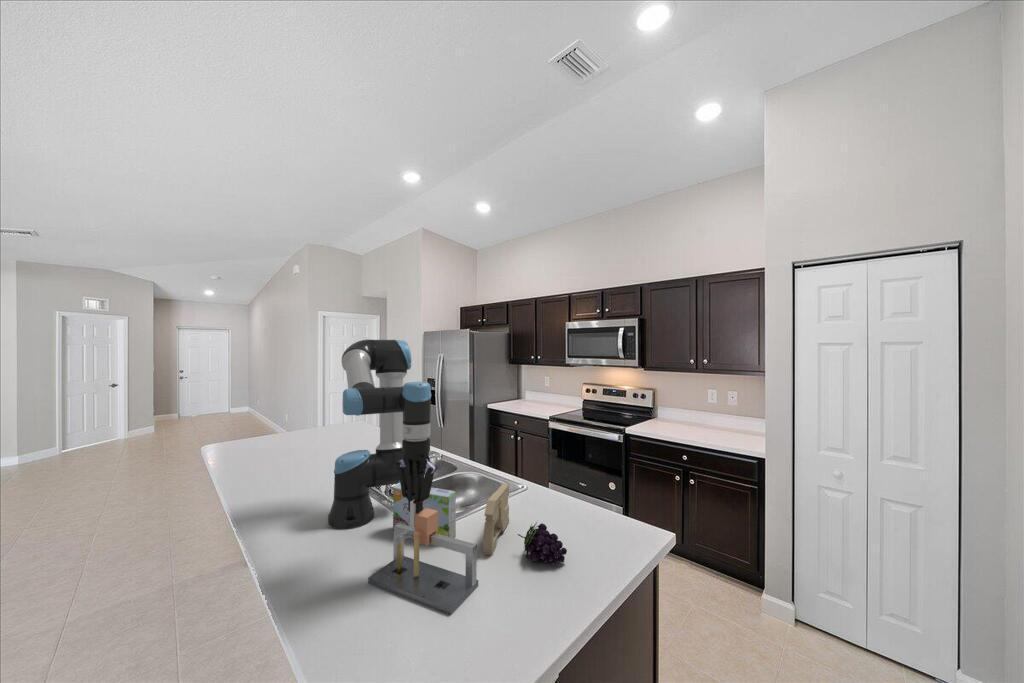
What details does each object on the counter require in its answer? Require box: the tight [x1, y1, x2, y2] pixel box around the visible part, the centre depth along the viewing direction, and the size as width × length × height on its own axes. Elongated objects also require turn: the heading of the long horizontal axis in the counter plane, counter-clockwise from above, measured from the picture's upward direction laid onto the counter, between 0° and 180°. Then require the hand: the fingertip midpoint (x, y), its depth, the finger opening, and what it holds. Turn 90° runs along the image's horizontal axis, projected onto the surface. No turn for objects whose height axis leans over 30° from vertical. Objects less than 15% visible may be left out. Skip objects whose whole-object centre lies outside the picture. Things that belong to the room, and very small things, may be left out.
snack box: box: [392, 483, 457, 538], centre depth 124 cm, size 21×6×15 cm, turn 70°
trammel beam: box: [392, 523, 478, 586], centre depth 99 cm, size 26×6×11 cm, turn 64°
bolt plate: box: [367, 555, 479, 616], centre depth 97 cm, size 26×12×2 cm, turn 64°
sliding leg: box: [413, 508, 438, 577], centre depth 101 cm, size 4×7×15 cm, turn 154°
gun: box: [482, 483, 510, 556], centre depth 123 cm, size 24×3×15 cm, turn 168°
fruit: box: [517, 521, 568, 565], centre depth 110 cm, size 10×11×15 cm
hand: (415, 524), depth 104 cm, fingers closed
